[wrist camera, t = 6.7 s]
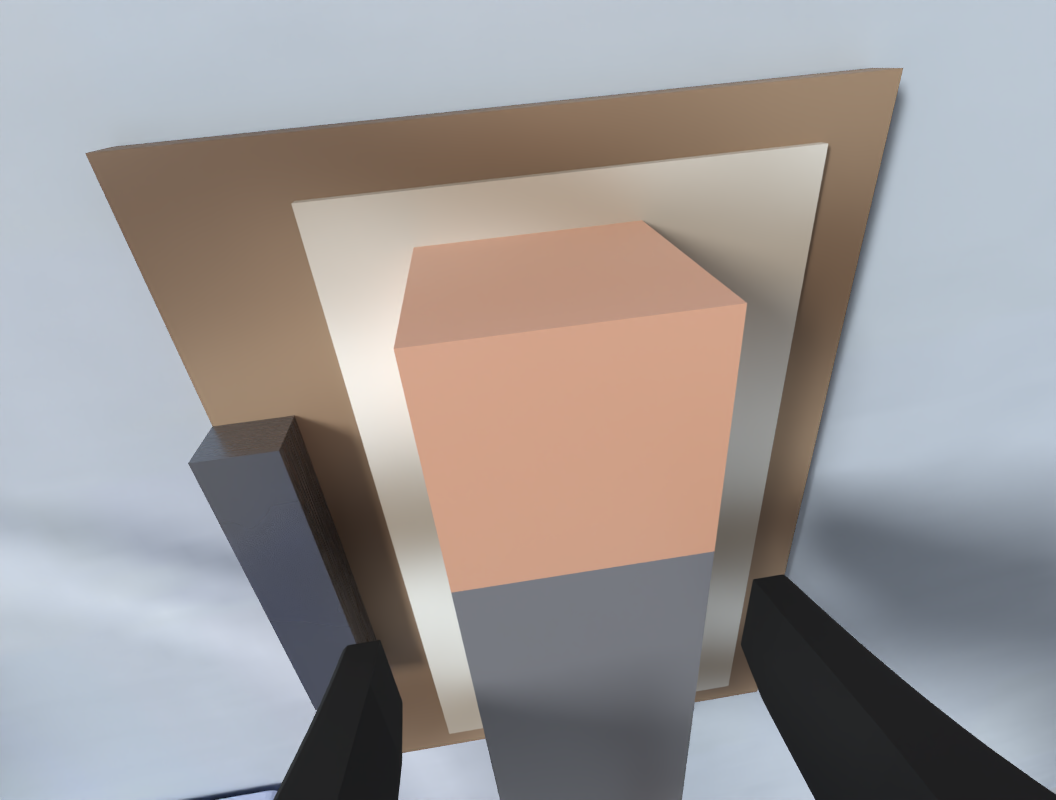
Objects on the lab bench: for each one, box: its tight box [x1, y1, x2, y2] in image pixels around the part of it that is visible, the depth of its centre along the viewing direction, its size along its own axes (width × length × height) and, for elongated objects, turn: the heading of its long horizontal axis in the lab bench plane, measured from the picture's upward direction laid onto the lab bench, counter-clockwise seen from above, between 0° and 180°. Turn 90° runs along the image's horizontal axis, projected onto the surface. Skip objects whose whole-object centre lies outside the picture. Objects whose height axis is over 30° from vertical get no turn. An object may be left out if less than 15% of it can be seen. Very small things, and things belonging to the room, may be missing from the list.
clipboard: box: [86, 68, 903, 753], centre depth 13 cm, size 18×13×2 cm
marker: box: [394, 220, 747, 800], centre depth 12 cm, size 15×4×4 cm, turn 5°
